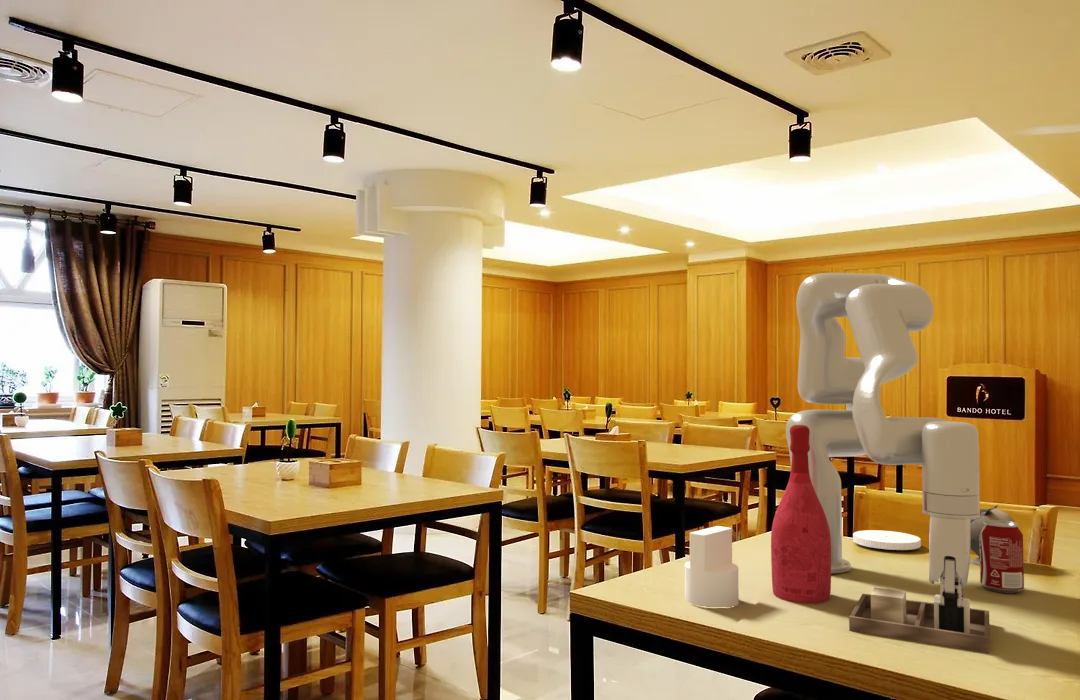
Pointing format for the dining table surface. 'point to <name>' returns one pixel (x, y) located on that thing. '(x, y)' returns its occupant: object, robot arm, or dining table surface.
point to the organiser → (922, 626)
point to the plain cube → (888, 605)
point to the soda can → (1001, 556)
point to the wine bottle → (800, 534)
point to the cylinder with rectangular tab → (711, 569)
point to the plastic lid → (887, 540)
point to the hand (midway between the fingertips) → (952, 627)
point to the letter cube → (964, 604)
